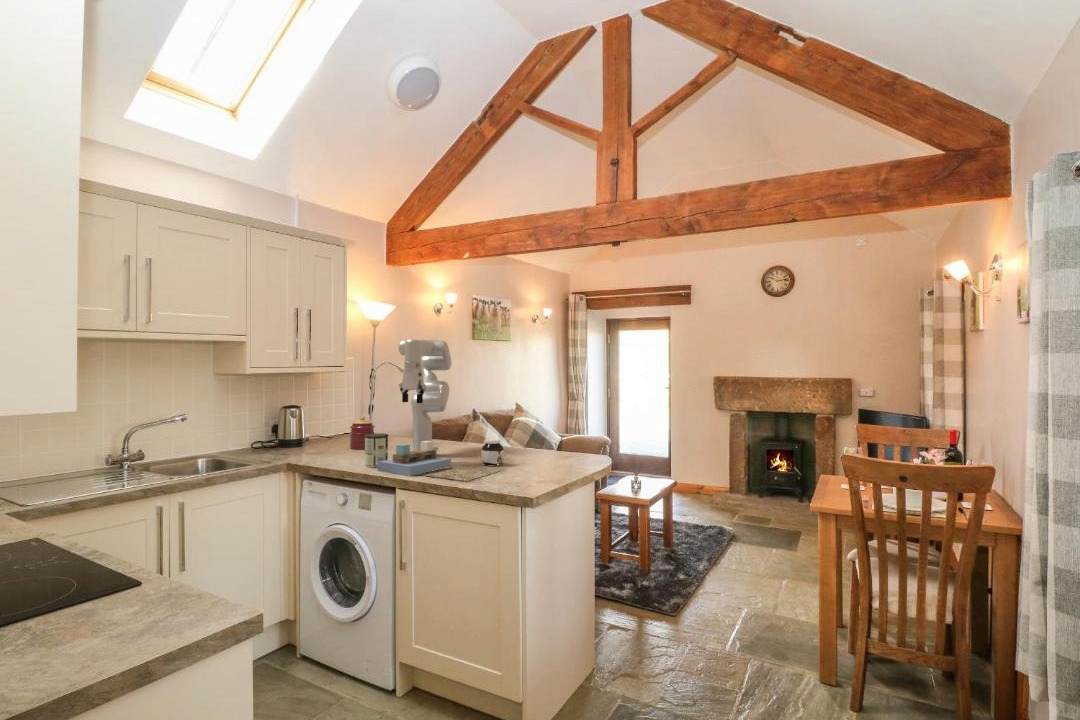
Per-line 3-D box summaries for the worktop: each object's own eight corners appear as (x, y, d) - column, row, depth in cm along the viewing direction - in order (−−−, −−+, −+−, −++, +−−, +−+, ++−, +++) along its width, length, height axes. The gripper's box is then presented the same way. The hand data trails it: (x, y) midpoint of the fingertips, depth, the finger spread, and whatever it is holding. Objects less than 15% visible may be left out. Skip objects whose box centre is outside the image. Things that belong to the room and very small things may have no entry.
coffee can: (375, 463, 262) (375, 432, 263) (392, 464, 258) (393, 434, 258) (359, 466, 253) (359, 435, 253) (377, 468, 249) (377, 436, 249)
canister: (345, 449, 306) (345, 416, 306) (356, 446, 318) (357, 414, 319) (367, 450, 303) (368, 417, 304) (378, 446, 316) (378, 415, 316)
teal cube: (403, 453, 244) (403, 443, 244) (409, 454, 242) (409, 444, 242) (396, 454, 241) (396, 444, 241) (402, 455, 239) (402, 445, 239)
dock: (419, 463, 262) (419, 454, 263) (450, 467, 251) (450, 459, 251) (378, 470, 243) (378, 461, 243) (410, 476, 231) (410, 466, 231)
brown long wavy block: (426, 456, 257) (427, 449, 257) (436, 458, 254) (436, 450, 254) (392, 462, 241) (392, 454, 241) (402, 464, 237) (402, 455, 237)
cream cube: (426, 449, 256) (427, 440, 256) (433, 450, 253) (433, 441, 254) (420, 450, 252) (420, 441, 252) (426, 451, 250) (426, 442, 250)
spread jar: (488, 467, 254) (488, 441, 254) (474, 463, 263) (474, 438, 263) (509, 464, 262) (509, 439, 262) (494, 461, 270) (495, 437, 271)
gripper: (431, 366, 261) (431, 403, 261) (406, 366, 271) (405, 401, 271) (419, 366, 255) (419, 403, 255) (393, 365, 265) (393, 402, 265)
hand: (412, 402), depth 263 cm, fingers open, 9 cm apart
